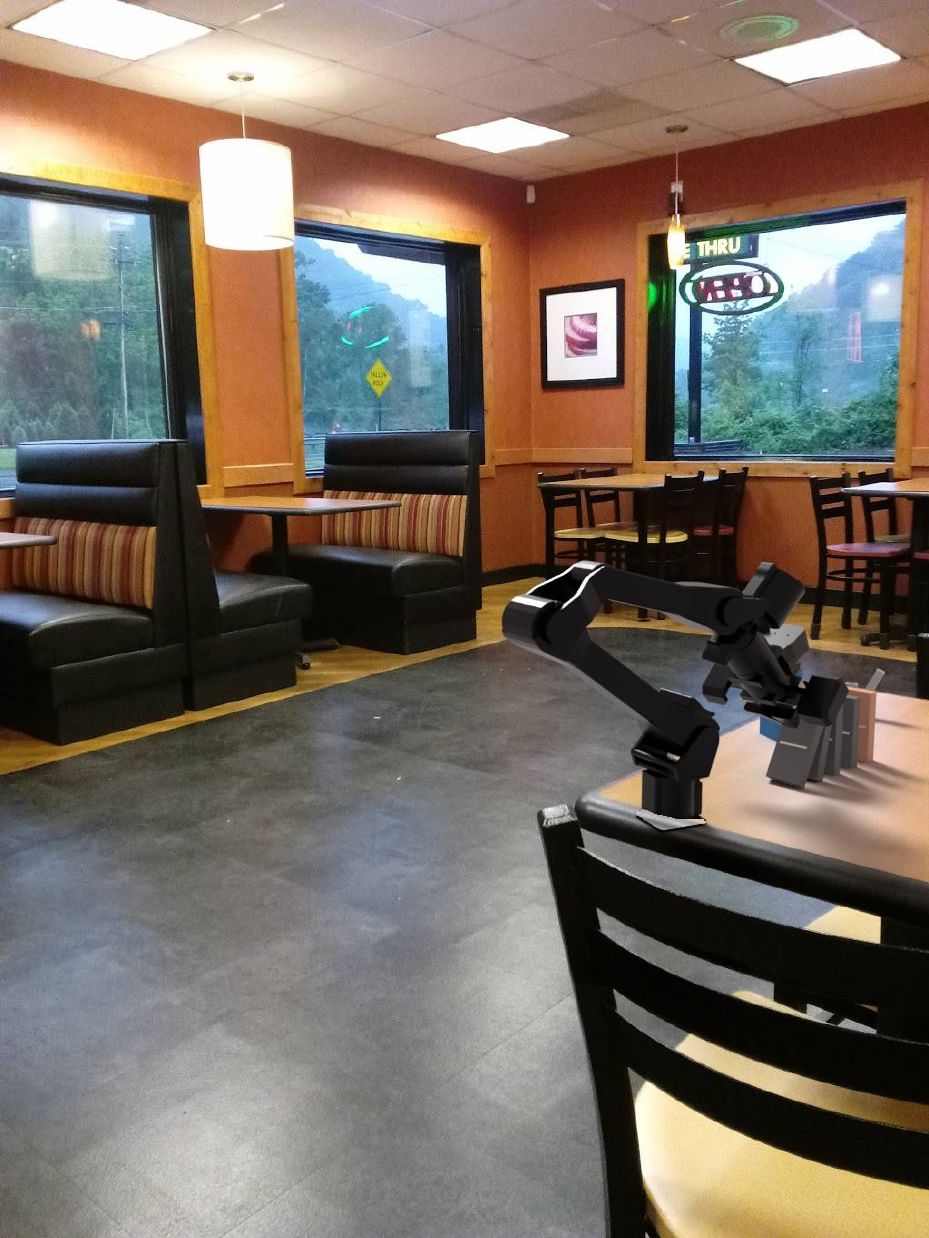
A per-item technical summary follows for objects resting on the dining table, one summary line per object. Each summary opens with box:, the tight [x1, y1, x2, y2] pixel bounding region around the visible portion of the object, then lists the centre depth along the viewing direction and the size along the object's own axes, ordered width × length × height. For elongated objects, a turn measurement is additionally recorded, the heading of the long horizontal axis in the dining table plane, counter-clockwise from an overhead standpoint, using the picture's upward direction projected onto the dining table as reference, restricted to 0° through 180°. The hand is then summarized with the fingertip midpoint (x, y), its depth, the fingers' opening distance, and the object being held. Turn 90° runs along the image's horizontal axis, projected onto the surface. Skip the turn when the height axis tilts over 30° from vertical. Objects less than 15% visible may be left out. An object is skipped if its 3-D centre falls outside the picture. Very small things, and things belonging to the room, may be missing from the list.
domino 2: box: [807, 725, 832, 782], centre depth 144 cm, size 2×5×10 cm, turn 41°
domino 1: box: [765, 717, 824, 789], centre depth 142 cm, size 2×5×10 cm, turn 41°
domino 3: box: [823, 704, 843, 777], centre depth 146 cm, size 2×5×10 cm, turn 41°
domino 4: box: [840, 695, 860, 770], centre depth 149 cm, size 2×5×10 cm, turn 41°
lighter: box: [845, 668, 886, 691], centre depth 175 cm, size 7×2×8 cm, turn 63°
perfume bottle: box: [759, 659, 803, 743], centre depth 163 cm, size 6×6×12 cm
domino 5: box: [847, 687, 877, 763], centre depth 152 cm, size 2×5×10 cm, turn 41°
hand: (795, 725), depth 141 cm, fingers closed
